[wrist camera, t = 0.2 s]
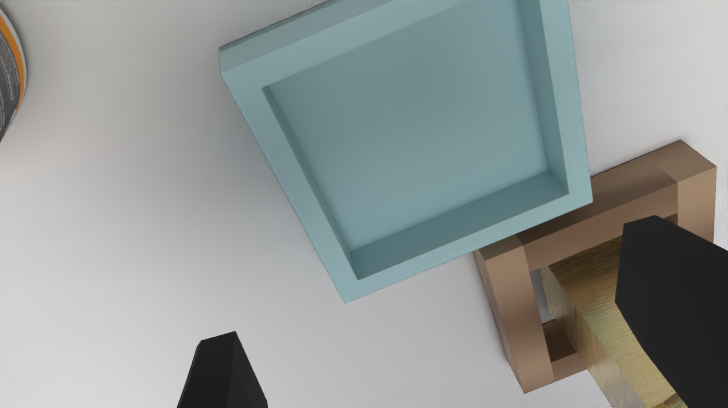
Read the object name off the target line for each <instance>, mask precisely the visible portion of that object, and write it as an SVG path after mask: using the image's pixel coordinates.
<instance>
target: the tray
mask: <svg viewBox="0 0 728 408" xmlns="http://www.w3.org/2000/svg"><path fill="white" fill-rule="evenodd" d="M219 54H220V75H221V77H222V79H223V80H224V82H225V84H226V86H227V88H228V90H229V91H230V93H231V95H232V97H233V99H234V101H235V103H236V104H237V106H238V108H239V110H240V112H241V114H242V115H243V117H244V119H245V121H246V123H247V125H248V126H249V128H250V130H251V132H252V134H253V136H254V137H255V139H256V141H257V143H258V145H259V147H260V149H261V150H262V152H263V154H264V156H265V158H266V160H267V161H268V163H269V165H270V167H271V169H272V171H273V172H274V174H275V176H276V178H277V180H278V182H279V183H280V185H281V187H282V189H283V191H284V193H285V195H286V196H287V198H288V200H289V202H290V204H291V206H292V207H293V209H294V211H295V213H296V215H297V217H298V218H299V220H300V222H301V224H302V226H303V228H304V229H305V231H306V233H307V235H308V237H309V239H310V241H311V242H312V244H313V246H314V248H315V250H316V252H317V253H318V255H319V257H320V259H321V261H322V263H323V264H324V266H325V268H326V270H327V272H328V274H329V275H330V277H331V279H332V281H333V283H334V285H335V287H336V288H337V290H338V292H339V294H340V296H341V298H342V299H343V301H344V303H347V302H350V301H352V300H355V299H357V298H360V297H362V296H364V295H367V294H369V293H372V292H374V291H377V290H379V289H382V288H384V287H386V286H389V285H391V284H394V283H396V282H399V281H401V280H404V279H406V278H408V277H411V276H413V275H416V274H418V273H421V272H423V271H426V270H428V269H430V268H433V267H435V266H438V265H440V264H443V263H445V262H448V261H450V260H452V259H455V258H457V257H460V256H462V255H465V254H467V253H470V252H472V251H474V250H477V249H479V248H482V247H484V246H487V245H489V244H492V243H494V242H496V241H499V240H501V239H504V238H506V237H509V236H511V235H514V234H516V233H518V232H521V231H523V230H526V229H528V228H531V227H533V226H536V225H538V224H540V223H543V222H545V221H548V220H550V219H553V218H555V217H558V216H560V215H562V214H565V213H567V212H570V211H572V210H575V209H577V208H580V207H582V206H584V205H587V204H589V203H592V202H593V197H592V189H591V181H590V173H589V165H588V157H587V149H586V141H585V133H584V125H583V117H582V109H581V101H580V93H579V85H578V77H577V69H576V61H575V53H574V45H573V37H572V30H571V22H570V14H569V6H568V0H330V1H327V2H325V3H323V4H320V5H318V6H316V7H313V8H311V9H309V10H306V11H304V12H302V13H299V14H297V15H295V16H292V17H290V18H288V19H285V20H283V21H281V22H278V23H276V24H273V25H271V26H269V27H266V28H264V29H262V30H259V31H257V32H255V33H252V34H250V35H248V36H245V37H243V38H241V39H238V40H236V41H234V42H231V43H229V44H227V45H224V46H222V47H220V48H219Z"/></svg>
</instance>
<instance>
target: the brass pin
mask: <svg viewBox="0 0 728 408" xmlns="http://www.w3.org/2000/svg"><path fill="white" fill-rule="evenodd" d="M621 243H622V235H621V236H618V237H616V238H614V239H611V240H609V241H606V242H604V243H601V244H599V245H596V246H594V247H591V248H589V249H586V250H584V251H582V252H579V253H577V254H574V255H572V256H569V257H567V258H564V259H562V260H559V261H557V262H554V263H552V264H550V265H547V266H545V267H542V268H540V269H539V270H540V274H541V279H542V283H543V288H544V293H545V297H546V302H547V306H548V309H549V310H550V312H551V313H552V315H553V316H554V318H555V320H556V321H557V323H558V324H559V326H560V327H561V329H562V330H563V332H564V333H565V335H566V337H567V338H568V340H569V341H570V343H571V344H572V346H573V347H574V349H575V350H576V352H577V354H578V355H579V357H580V358H581V360H582V361H583V363H584V364H585V366H586V367H587V369H588V371H589V372H590V374H591V375H592V377H593V378H594V380H595V381H596V383H597V385H598V386H599V388H600V389H601V391H602V392H603V394H604V395H605V397H606V398H607V400H608V402H609V403H610V405H611V406H612V408H688V407H687V406H686V404H685V403H684V402H683V401H682V399H681V398H680V397H679V396H678V394H677V393H676V392H675V390H674V389H673V388H672V387H671V385H670V384H669V383H668V381H667V380H666V379H665V378H664V376H663V375H662V374H661V372H660V371H659V370H658V369H657V367H656V366H655V365H654V363H653V362H652V361H651V360H650V358H649V357H648V356H647V354H646V353H645V352H644V350H643V349H642V347H641V346H640V344H639V342H638V341H637V339H636V338H635V336H634V334H633V333H632V331H631V329H630V328H629V326H628V324H627V323H626V321H625V319H624V317H623V316H622V314H621V312H620V310H619V309H618V307H617V305H616V304H615V294H616V285H617V277H618V269H619V260H620V252H621Z"/></svg>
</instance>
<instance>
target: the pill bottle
mask: <svg viewBox="0 0 728 408" xmlns="http://www.w3.org/2000/svg"><path fill="white" fill-rule="evenodd" d="M26 74H27V73H26V64H25V58H24V53H23V50H22V47H21V43H20V40H19V38H18V36H17V34H16V32H15V29H14V28H13V26H12V24H11V23H10V21H9V19H8V18H7V17H6V15H5V14H4V12H3V11H2V10H1V8H0V142H1V140H2V138H3V137H4V135H5V133H6V132H7V130H8V128H9V127H10V125H11V124H12V122H13V119H14V117H15V115H16V113H17V111H18V109H19V106H20V104H21V102H22V99H23V96H24V92H25V87H26Z"/></svg>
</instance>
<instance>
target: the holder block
mask: <svg viewBox="0 0 728 408" xmlns="http://www.w3.org/2000/svg"><path fill="white" fill-rule="evenodd" d="M716 169H717V166H715V165H714V164H713V163H711V162H710V161H709V160H707V159H706V158H705V157H703V156H702V155H701V154H699V153H698V152H697V151H695V150H694V149H693V148H691V147H690V146H689V145H687V144H686V143H685V142H683V141H682V140H680V141H678V142H675V143H673V144H671V145H668V146H666V147H663V148H661V149H658V150H656V151H653V152H651V153H649V154H646V155H644V156H641V157H639V158H636V159H634V160H632V161H629V162H627V163H624V164H622V165H619V166H617V167H615V168H612V169H610V170H607V171H605V172H602V173H600V174H597V175H595V176H593V177H590V181H591V189H592V197H593V202H592V203H589V204H587V205H584V206H582V207H580V208H577V209H575V210H572V211H570V212H567V213H565V214H562V215H560V216H558V217H555V218H553V219H550V220H548V221H545V222H543V223H540V224H538V225H536V226H533V227H531V228H528V229H526V230H523V231H521V232H518V233H516V234H514V235H511V236H509V237H506V238H504V239H501V240H499V241H496V242H494V243H492V244H489V245H487V246H484V247H482V248H479V249H477V250H474V251H473V252H474V255H475V259H476V262H477V265H478V268H479V271H480V275H481V278H482V281H483V284H484V288H485V291H486V294H487V297H488V300H489V304H490V307H491V310H492V313H493V316H494V320H495V323H496V326H497V329H498V332H499V336H500V339H501V342H502V345H503V349H504V352H505V355H506V358H507V361H508V363H509V365H510V367H511V369H512V371H513V372H514V374H515V376H516V378H517V380H518V382H519V384H520V386H521V388H522V390H523V392H524V394H526V393H528V392H531V391H533V390H536V389H538V388H541V387H543V386H546V385H548V384H551V383H553V382H556V381H558V380H561V379H563V378H566V377H568V376H571V375H573V374H576V373H578V372H581V371H583V370H586V369H587V367H586V366H585V364H584V363H583V361H582V360H581V358H580V357H579V355H578V354H577V352H576V350H575V349H574V347H573V346H572V344H571V343H570V341H569V340H568V338H567V337H566V335H565V333H564V332H563V330H562V329H561V327H560V326H559V324H558V323H557V321H556V320H554V321H551V322H549V323H546V324H544V325H542V323H541V319H540V315H539V311H538V307H537V302H536V298H535V294H534V290H533V285H532V281H531V277H530V272H532V271H535V270H537V269H540V268H542V267H545V266H547V265H550V264H552V263H554V262H557V261H559V260H562V259H564V258H567V257H569V256H572V255H574V254H577V253H579V252H582V251H584V250H586V249H589V248H591V247H594V246H596V245H599V244H601V243H604V242H606V241H609V240H611V239H614V238H616V237H618V236H621V235H623V226H624V223H628V222H631V221H635V220H638V219H642V218H646V217H649V216H653V215H657V216H659V217H661V218H663V219H665V220H667V221H669V222H671V223H674V224H676V225H678V226H680V227H682V228H684V229H686V230H688V231H690V232H692V233H694V234H696V235H698V236H700V237H701V238H703V239H705V240H707V241H709V242H711V243H713V239H714V215H715V192H716Z"/></svg>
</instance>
